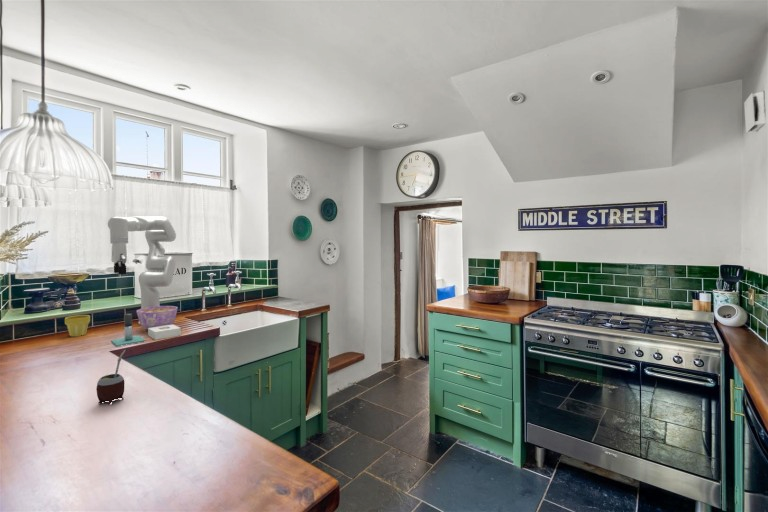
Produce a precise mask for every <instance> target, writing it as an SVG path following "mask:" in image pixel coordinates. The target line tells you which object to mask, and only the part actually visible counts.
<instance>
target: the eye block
mask: <svg viewBox="0 0 768 512" xmlns="http://www.w3.org/2000/svg"><path fill="white" fill-rule="evenodd" d="M147 336H149V337H150V338H152V339H153V340H155V341H156V340H162V339H167V338H174V337H178V336H182V328H181V327H180V326H178V325H175V324H174V323H173V324H172V325H165V326H159V327H152V328H148V329H147Z"/></svg>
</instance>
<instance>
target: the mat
mask: <svg viewBox="0 0 768 512" xmlns="http://www.w3.org/2000/svg"><path fill="white" fill-rule="evenodd" d="M144 341H146V342H147V339H146V338H144V337H142V336H141V335H134V336H133V340H130V341H125V337H122V338H121V337H120V338H115V339H110V342H111V343H112V344H113V345H114V346H116V347H122V346H121V345H123V346H127V345H126V344H129V345H132V344H131V343H135V344H139V343H138V342H140V343H145V342H144Z"/></svg>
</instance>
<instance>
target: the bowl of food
mask: <svg viewBox="0 0 768 512" xmlns="http://www.w3.org/2000/svg"><path fill="white" fill-rule="evenodd" d="M178 308H179V307H178V306H174V305H160V306H155V307H147V308H142V309H141V308H139V309H136V315H137V318H138V322H139V321H140V324H139V325H140V326H141V327H142V328H144V329H146V330H148V328H152V327H159V326H165V325H172V324H173V325H174V323H175V321H176V317H177V313H178Z"/></svg>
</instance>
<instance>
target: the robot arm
mask: <svg viewBox="0 0 768 512" xmlns="http://www.w3.org/2000/svg"><path fill="white" fill-rule="evenodd" d="M107 227H108V229H109V233H110V234H109V236H110V237H109V239H110V240H109V241H110V244H112V245H111V262H112V263H113V274H118V275H126V274H127V262H128V258H127V257H128V255H127V254H128V253H127V252H128V251H127V245H128V244H129V232H144V237H145V240H146V242H147V245H148V248H149V250H148V254H147V257H146V261H145V269H147V270H146V271H143V272H140V274H139V275H138V283H139V284H138V285H139V288H140V309H142V308H147V307H155V306H161V305H160V304H161V303H160V292H159V289H157V288H158V287H159V288H160V287H161V288H162V287H165V288H166V287H169V286H171V284H172V282H173V278H174V273H175V268H176V260H175V258H174V257H173V256H171V255H165V252H166V250H165V248H164V246H163V245H162V244H161V243H160V242H162V243H163V242H165V243H167V242H169V243H170V242H174V241H176V238H177V233H176V230H175V229H174V228H175V227H174V226H173V225H172V223H171V222H170V220H169V219H168V217H165V216H162V215H161V216H157V215H155V216H154V215H150V216H149V215H147V216H146V215H144V216H143V215H142V216H141V215H138V216H137V215H136V216H112V217H110V218H109V219H108V220H107ZM138 325H141V324H140V321H139V320H138Z"/></svg>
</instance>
